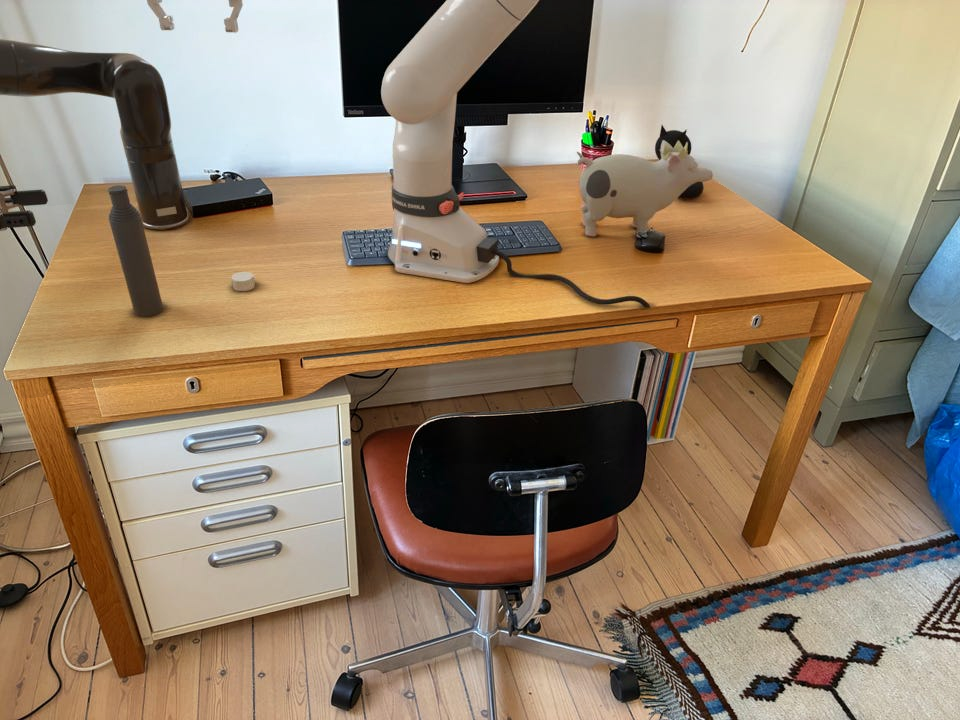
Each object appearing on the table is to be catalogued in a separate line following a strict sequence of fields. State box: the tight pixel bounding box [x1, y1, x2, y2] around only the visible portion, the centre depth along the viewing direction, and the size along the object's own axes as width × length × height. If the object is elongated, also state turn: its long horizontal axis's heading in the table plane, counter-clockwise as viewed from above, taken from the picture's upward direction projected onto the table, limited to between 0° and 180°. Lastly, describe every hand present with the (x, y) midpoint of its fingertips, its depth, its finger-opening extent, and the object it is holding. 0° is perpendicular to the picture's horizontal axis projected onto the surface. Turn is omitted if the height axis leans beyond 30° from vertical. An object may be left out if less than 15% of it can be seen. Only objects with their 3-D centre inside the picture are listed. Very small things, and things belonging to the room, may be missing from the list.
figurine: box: [576, 140, 714, 239], centre depth 151 cm, size 10×29×20 cm, turn 89°
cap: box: [231, 271, 256, 292], centre depth 130 cm, size 4×4×2 cm
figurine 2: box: [654, 124, 705, 200], centre depth 175 cm, size 16×14×15 cm
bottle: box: [107, 184, 164, 318], centre depth 116 cm, size 5×5×22 cm
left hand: (40, 207), depth 109 cm, fingers open, 8 cm apart
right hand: (200, 30), depth 106 cm, fingers open, 8 cm apart
